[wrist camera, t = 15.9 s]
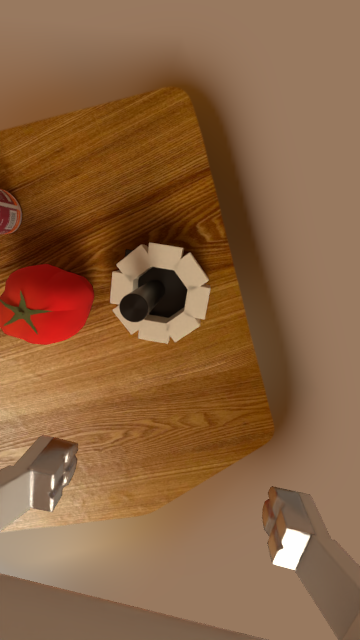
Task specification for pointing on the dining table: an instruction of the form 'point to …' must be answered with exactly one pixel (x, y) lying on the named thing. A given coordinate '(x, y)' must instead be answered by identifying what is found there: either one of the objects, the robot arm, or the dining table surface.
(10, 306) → the tomato
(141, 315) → the post
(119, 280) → the ring
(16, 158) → the dining table surface
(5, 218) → the pill bottle
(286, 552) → the robot arm
